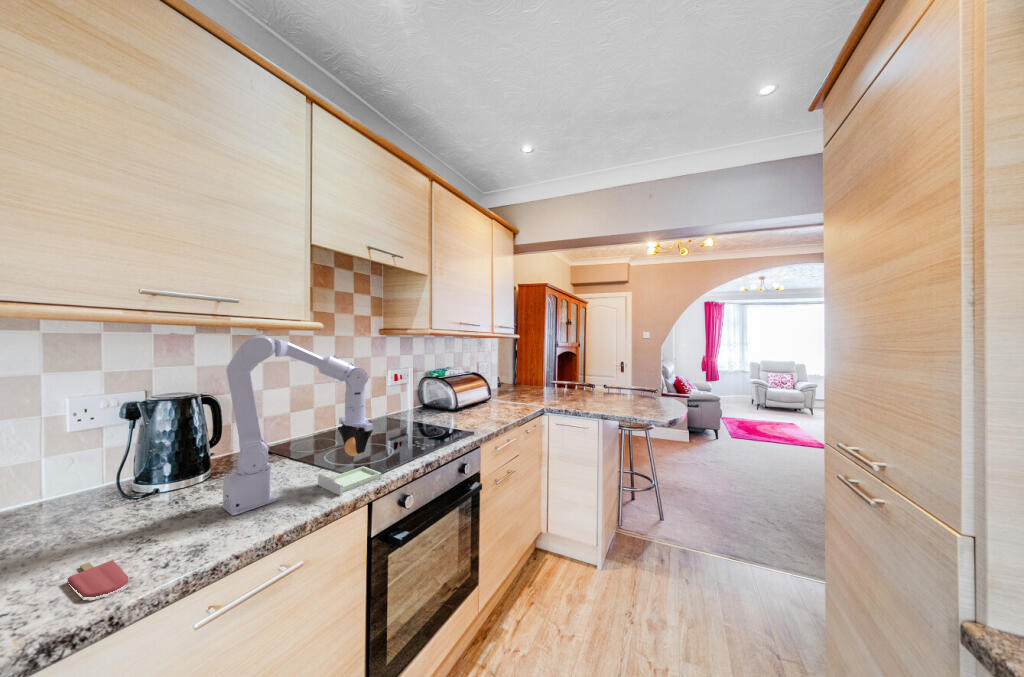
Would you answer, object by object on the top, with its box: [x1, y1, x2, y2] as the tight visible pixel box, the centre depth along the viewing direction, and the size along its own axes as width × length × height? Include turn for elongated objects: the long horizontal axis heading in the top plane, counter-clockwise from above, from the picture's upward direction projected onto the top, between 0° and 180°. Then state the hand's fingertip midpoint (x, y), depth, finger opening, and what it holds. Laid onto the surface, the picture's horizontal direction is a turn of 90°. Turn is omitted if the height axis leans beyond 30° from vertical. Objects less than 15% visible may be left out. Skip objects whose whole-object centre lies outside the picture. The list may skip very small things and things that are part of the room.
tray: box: [329, 466, 382, 493], centre depth 103 cm, size 12×9×2 cm
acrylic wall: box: [317, 473, 344, 496], centre depth 97 cm, size 1×12×3 cm, turn 57°
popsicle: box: [67, 560, 129, 597], centre depth 60 cm, size 5×2×15 cm
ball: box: [344, 437, 360, 457], centre depth 103 cm, size 6×6×6 cm
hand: (354, 450), depth 103 cm, fingers closed on ball, 6 cm apart
